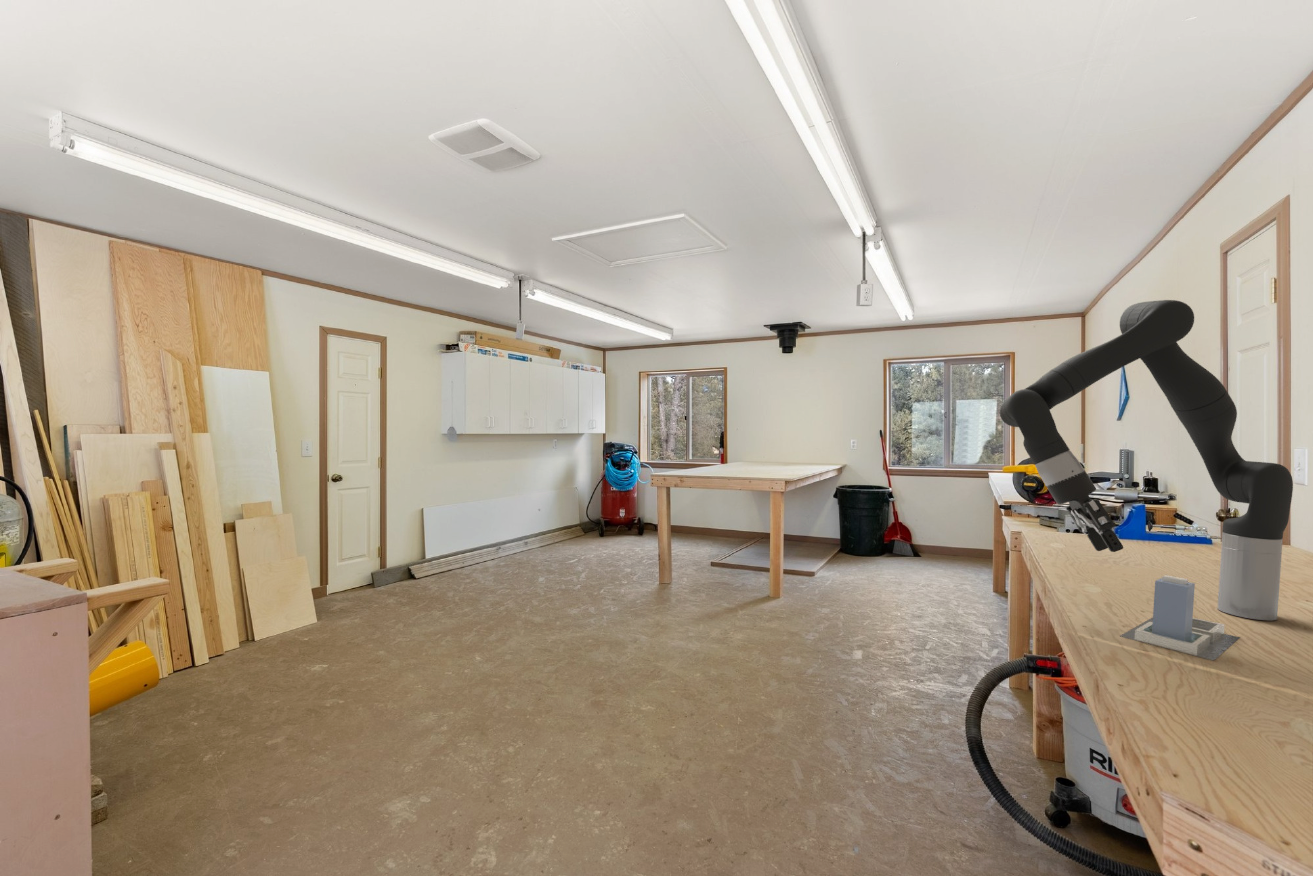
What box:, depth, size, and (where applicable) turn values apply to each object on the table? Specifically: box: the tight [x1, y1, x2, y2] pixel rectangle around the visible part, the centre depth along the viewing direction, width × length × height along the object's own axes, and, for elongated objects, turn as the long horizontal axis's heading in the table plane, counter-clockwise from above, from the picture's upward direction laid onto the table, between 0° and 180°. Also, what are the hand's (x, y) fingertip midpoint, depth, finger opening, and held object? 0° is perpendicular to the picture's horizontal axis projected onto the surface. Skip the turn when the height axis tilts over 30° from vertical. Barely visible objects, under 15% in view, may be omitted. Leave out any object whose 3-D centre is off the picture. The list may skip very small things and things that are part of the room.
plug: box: [1152, 574, 1196, 642], centre depth 107 cm, size 4×4×12 cm
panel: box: [1119, 616, 1241, 662], centre depth 111 cm, size 20×13×2 cm, turn 126°
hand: (1110, 550), depth 118 cm, fingers open, 8 cm apart
